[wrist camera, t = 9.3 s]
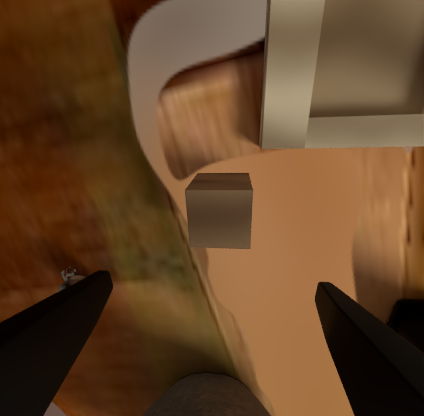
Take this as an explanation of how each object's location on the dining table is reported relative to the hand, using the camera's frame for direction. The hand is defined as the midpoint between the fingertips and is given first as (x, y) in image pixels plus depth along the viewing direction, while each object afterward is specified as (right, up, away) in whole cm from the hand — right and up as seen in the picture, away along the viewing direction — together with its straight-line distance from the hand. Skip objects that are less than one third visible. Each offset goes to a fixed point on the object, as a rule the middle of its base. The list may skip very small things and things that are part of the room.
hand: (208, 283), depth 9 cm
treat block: (+1, +4, +10) cm, 11 cm away
